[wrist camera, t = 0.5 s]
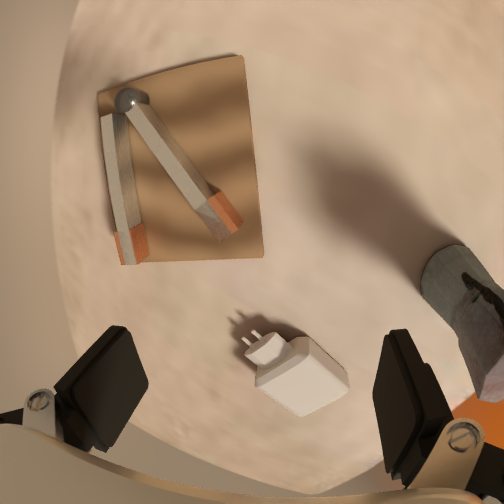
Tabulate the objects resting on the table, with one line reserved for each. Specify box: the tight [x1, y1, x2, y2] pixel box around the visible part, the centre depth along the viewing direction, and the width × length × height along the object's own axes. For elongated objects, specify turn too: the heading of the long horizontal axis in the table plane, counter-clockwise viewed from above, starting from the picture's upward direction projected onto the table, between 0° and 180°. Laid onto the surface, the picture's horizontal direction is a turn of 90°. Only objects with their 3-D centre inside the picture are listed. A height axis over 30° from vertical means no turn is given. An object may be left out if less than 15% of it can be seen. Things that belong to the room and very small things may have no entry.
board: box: [98, 55, 264, 262], centre depth 30 cm, size 22×18×1 cm
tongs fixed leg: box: [101, 113, 150, 265], centre depth 29 cm, size 17×2×3 cm, turn 6°
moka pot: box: [421, 245, 504, 403], centre depth 21 cm, size 10×15×20 cm, turn 50°
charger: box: [241, 330, 350, 417], centre depth 36 cm, size 5×9×15 cm
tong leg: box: [114, 88, 244, 242], centre depth 27 cm, size 19×3×3 cm, turn 36°
